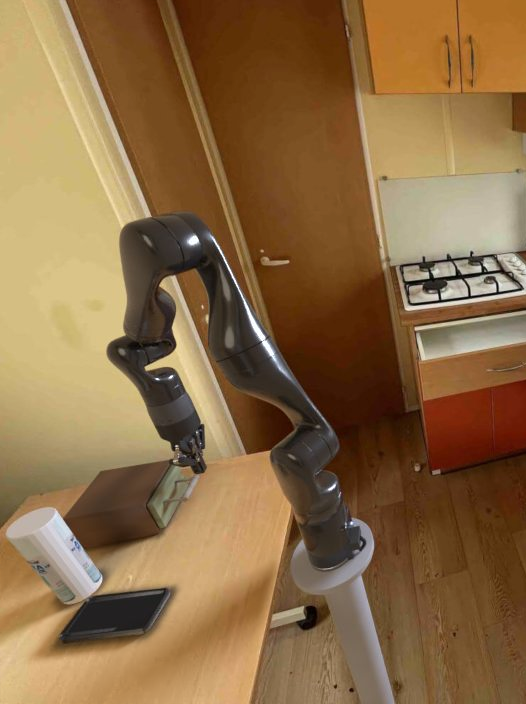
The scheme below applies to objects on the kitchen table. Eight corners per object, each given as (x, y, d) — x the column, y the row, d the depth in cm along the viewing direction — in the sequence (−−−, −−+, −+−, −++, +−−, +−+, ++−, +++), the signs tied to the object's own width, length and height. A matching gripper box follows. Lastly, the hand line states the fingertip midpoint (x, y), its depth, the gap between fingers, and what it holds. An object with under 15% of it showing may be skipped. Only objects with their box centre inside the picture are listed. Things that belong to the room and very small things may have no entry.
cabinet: (184, 487, 107) (171, 459, 103) (159, 533, 96) (143, 504, 91) (117, 499, 104) (100, 470, 100) (83, 548, 92) (61, 519, 88)
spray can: (54, 595, 83) (-2, 529, 74) (94, 567, 89) (47, 501, 80) (69, 611, 81) (13, 544, 72) (110, 581, 86) (63, 515, 77)
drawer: (210, 481, 108) (199, 459, 104) (190, 522, 97) (178, 499, 94) (126, 496, 104) (112, 473, 100) (95, 541, 93) (79, 517, 89)
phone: (88, 596, 82) (171, 587, 84) (91, 599, 83) (173, 590, 84) (54, 641, 75) (144, 630, 77) (57, 644, 76) (147, 634, 77)
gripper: (180, 429, 86) (208, 489, 94) (204, 392, 98) (228, 448, 106) (137, 436, 85) (170, 497, 92) (167, 398, 96) (194, 454, 104)
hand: (201, 471), depth 99 cm, fingers closed
